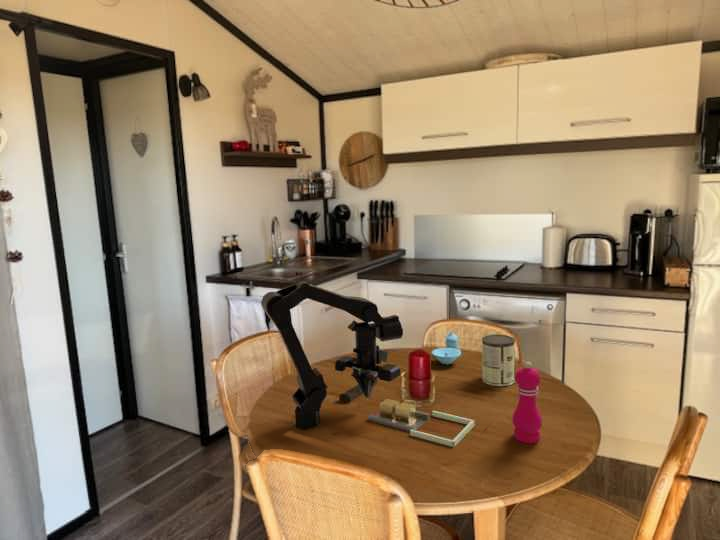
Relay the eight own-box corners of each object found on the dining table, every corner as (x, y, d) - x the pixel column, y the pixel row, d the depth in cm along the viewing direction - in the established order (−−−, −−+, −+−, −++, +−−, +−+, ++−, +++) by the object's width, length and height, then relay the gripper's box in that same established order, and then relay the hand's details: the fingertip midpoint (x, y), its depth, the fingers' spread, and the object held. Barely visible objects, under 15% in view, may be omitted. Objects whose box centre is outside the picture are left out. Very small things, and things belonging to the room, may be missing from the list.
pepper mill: (538, 447, 126) (539, 369, 123) (508, 440, 130) (509, 364, 126) (544, 434, 132) (546, 359, 129) (516, 428, 136) (517, 355, 132)
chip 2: (408, 425, 137) (408, 410, 137) (395, 421, 139) (395, 407, 139) (415, 419, 140) (415, 405, 140) (402, 415, 143) (402, 402, 142)
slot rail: (413, 436, 133) (413, 428, 133) (368, 424, 141) (367, 416, 141) (430, 421, 141) (430, 413, 141) (386, 410, 149) (386, 402, 149)
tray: (454, 451, 125) (453, 441, 125) (410, 439, 132) (410, 430, 132) (474, 429, 136) (474, 420, 136) (433, 419, 143) (433, 410, 142)
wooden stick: (349, 408, 152) (348, 393, 152) (338, 405, 155) (338, 390, 154) (384, 386, 167) (384, 373, 167) (374, 384, 170) (374, 370, 169)
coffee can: (487, 372, 175) (487, 332, 173) (518, 377, 170) (518, 336, 167) (477, 383, 167) (477, 341, 164) (509, 388, 161) (509, 345, 159)
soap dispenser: (457, 370, 178) (457, 345, 177) (428, 367, 182) (427, 343, 181) (467, 354, 195) (467, 331, 193) (440, 351, 199) (439, 329, 197)
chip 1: (392, 420, 140) (392, 407, 139) (379, 417, 142) (379, 404, 142) (399, 415, 143) (399, 401, 143) (387, 412, 145) (387, 398, 145)
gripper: (409, 340, 145) (410, 393, 147) (354, 332, 155) (356, 381, 158) (389, 352, 136) (390, 407, 138) (332, 342, 146) (334, 394, 149)
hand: (367, 396), depth 146 cm, fingers closed
